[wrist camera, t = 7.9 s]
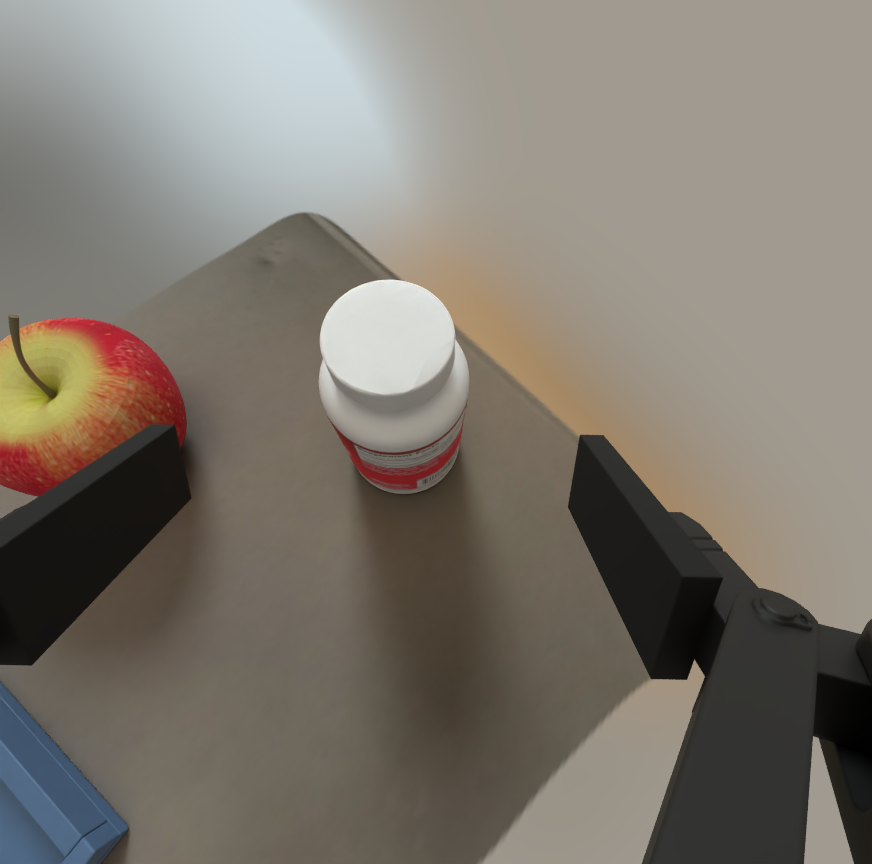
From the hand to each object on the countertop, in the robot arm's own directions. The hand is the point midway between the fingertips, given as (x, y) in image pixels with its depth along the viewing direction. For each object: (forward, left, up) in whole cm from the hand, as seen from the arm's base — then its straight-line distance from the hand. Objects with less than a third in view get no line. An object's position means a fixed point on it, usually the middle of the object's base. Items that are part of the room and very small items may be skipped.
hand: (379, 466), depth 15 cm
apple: (+14, +5, -10) cm, 18 cm away
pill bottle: (+2, -4, -10) cm, 11 cm away
